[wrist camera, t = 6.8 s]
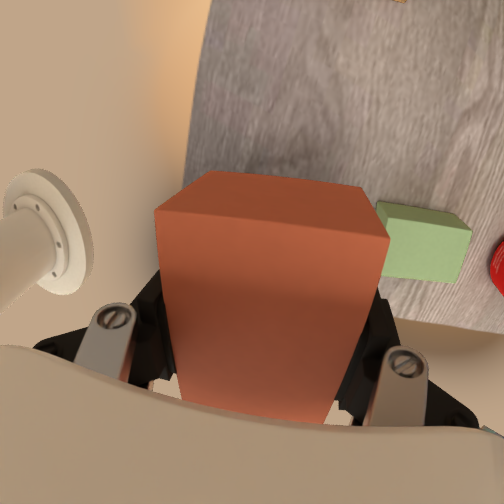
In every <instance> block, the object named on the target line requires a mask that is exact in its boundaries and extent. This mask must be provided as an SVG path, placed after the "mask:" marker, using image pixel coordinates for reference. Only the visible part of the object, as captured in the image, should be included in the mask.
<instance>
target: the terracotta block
mask: <svg viewBox="0 0 504 504" xmlns="http://www.w3.org/2000/svg"><path fill="white" fill-rule="evenodd" d="M154 215H155V227H156V237H157V238H156V239H157V248H158V258H159V267H160V275H161V283H162V291H163V298H164V303H165V306H166V313H167V320H168V326H169V332H170V338H171V344H172V349H173V355H174V360H175V365H176V371H177V378H178V383H179V388H180V393H181V397H182V400H185V401H189V402H193V403H197V404H201V405H205V406H210V407H214V408H219V409H223V410H228V411H233V412H238V413H244V414H249V415H255V416H261V417H267V418H274V419H281V420H289V421H297V422H306V423H316V424H323V423H324V421H325V419H326V416H327V415H328V412H329V410H330V408H331V406H332V404H333V402H334V398H335V396H336V394H337V392H338V389H339V387H340V385H341V382H342V380H343V378H344V375H345V373H346V370H347V368H348V366H349V363H350V361H351V358H352V356H353V353H354V350H355V348H356V345H357V343H358V340H359V337H360V335H361V333H362V331H363V328H364V326H365V323H366V320H367V317H368V314H369V311H370V308H371V305H372V302H373V299H374V296H375V293H376V290H377V287H378V283H379V280H380V277H381V273H382V270H383V266H384V263H385V259H386V256H387V252H388V248H389V244H390V240H391V239H390V236H389V235H388V233H387V231H386V229H385V227H384V226H383V224H382V222H381V220H380V218H379V217H378V215H377V213H376V211H375V210H374V208H373V206H372V205H371V203H370V201H369V200H368V198H367V196H366V195H365V193H364V191H363V190H362V188H361V187H355V186H349V185H342V184H336V183H328V182H321V181H314V180H306V179H298V178H289V177H280V176H270V175H260V174H249V173H237V172H224V171H209V172H207V173H206V174H204V175H203V176H201V177H200V178H199V179H197V180H196V181H194V182H193V183H191V184H190V185H188V186H187V187H185V188H184V189H183V190H181V191H180V192H178V193H177V194H176V195H174V196H173V197H171V198H170V199H169V200H167V201H166V202H165V203H163V204H162V205H160V206H159V207H158V208H156V209H155V210H154Z"/></svg>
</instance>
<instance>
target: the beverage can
mask: <svg viewBox="0 0 504 504" xmlns="http://www.w3.org/2000/svg"><path fill="white" fill-rule="evenodd" d="M490 274H491V279H492V281H493V283H494V284H495V286H496V287H497V288H498V290H499V291H500V292H501V294H502V295H503V296H504V241H503V242H502V243H501V244H500V245H499V246H498V248H497V249H496V251H495V253H494V255H493V258H492V261H491V266H490Z"/></svg>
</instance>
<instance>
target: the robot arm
mask: <svg viewBox="0 0 504 504" xmlns="http://www.w3.org/2000/svg"><path fill="white" fill-rule="evenodd" d="M68 262H69V251H68V244H67V239H66V236H65V233H64V230H63V228H62V226H61V223H60V221H59V220H58V218H57V216H56V214H55V213H54V212H53V210H52V209H51V208H50V206H49V205H48V204H47V203H46V202H45V201H43V200H42V199H41V198H39V197H38V196H35V195H32V194H25V195H22V196H20V197H18V198H17V199H16V200H15V201H14V202H13V204H12V205H11V208H10V212H9V216H7V217H5V218H3V219H2V220H0V314H2V313H3V312H4V311H5V310H6V309H7V308H8V307H9V306H10V305H11V304H12V303H14V302H15V301H16V300H17V299H18V298H19V297H20V296H21V295H22V294H23V293H25V292H26V291H27V290H28V289H29V288H30V287H31V286H33V285H34V284H35V283H36V282H37V281H39V280H40V279H43V280H46V281H55V280H57V279H58V278H60V277H61V276H62V275H63V274H64V273H65V271H66V270H67V266H68ZM428 371H429V369H428V363H427V361H426V359H425V357H424V356H423V355H422V354H421V353H420V352H418V351H417V350H415V349H413V348H411V347H407V346H401V344H400V340H399V337H398V333H397V330H396V326H395V322H394V319H393V315H392V312H391V309H390V305H389V302H388V300H387V299H381V297H380V294H379V290H378V287H377V290H376V293H375V296H374V299H373V302H372V305H371V308H370V311H369V314H368V317H367V320H366V323H365V326H364V328H363V331H362V333H361V335H360V337H359V340H358V343H357V345H356V348H355V350H354V353H353V356H352V358H351V361H350V363H349V366H348V368H347V370H346V373H345V375H344V378H343V380H342V382H341V385H340V387H339V389H338V392H337V394H336V396H335V398H334V400H338V401H339V410H346V411H347V412H348V413H350V414H351V415H352V417H351V420H350V423H349V426H343V425H328V424H316V423H306V422H297V421H289V420H281V419H274V418H267V417H261V416H255V415H249V414H244V413H238V412H233V411H228V410H223V409H219V408H214V407H210V406H205V405H201V404H197V403H193V402H189V401H185V400H181V399H178V398H174V397H170V396H167V395H163V394H160V393H156V392H153V384H154V382H153V381H154V380H155V379H158V378H160V379H164V380H168V381H170V379H171V376H172V375H173V373H176V374H177V371H176V365H175V360H174V355H173V349H172V344H171V338H170V332H169V326H168V320H167V313H166V306H165V303H164V298H163V291H162V283H161V275H160V269H159V270H158V271H157V272H156V274H155V275H154V276H153V277H152V278H151V280H150V281H149V282H148V283H147V284H146V286H145V287H144V288H143V289H142V290H141V292H140V293H139V294H138V295H137V296H136V298H135V299H134V300H133V301H132V303H131V304H130V305H128V304H126V303H111V304H107V305H105V306H103V307H101V308H100V309H99V310H97V311H96V312H95V314H94V316H93V317H92V320H91V322H90V324H89V326H88V327H86V328H82V329H79V330H75V331H72V332H68V333H65V334H61V335H58V336H54V337H51V338H47V339H44V340H42V341H40V342H39V343H37V344H36V345H35V346H34V347H33V348H28V347H23V346H16V345H1V346H0V504H504V437H503V436H502V435H500V434H498V433H496V432H495V431H493V430H491V429H490V428H488V427H486V426H483V427H482V428H480V427H479V423H478V420H477V418H476V416H475V415H474V413H473V412H472V411H470V409H468V408H467V407H466V406H464V405H463V404H461V403H460V402H459V401H457V400H456V399H454V398H453V397H452V396H450V395H449V394H448V393H446V392H445V391H443V390H442V389H441V388H439V387H438V386H437V385H435V384H434V383H433V382H431V381H430V380H428Z"/></svg>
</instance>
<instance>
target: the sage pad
mask: <svg viewBox="0 0 504 504" xmlns="http://www.w3.org/2000/svg"><path fill="white" fill-rule="evenodd" d="M376 213H377V215H378V217H379V218H380V220H381V222H382V224H383V226H384V227H385V229H386V231H387V233H388V235H389V236H390V239H391V240H390V244H389V248H388V252H387V256H386V259H385V263H384V266H383V270H382V273H381V276H386V277H396V278H406V279H416V280H426V281H436V282H447V283H456V281H457V278H458V276H459V273H460V270H461V267H462V264H463V262H464V259H465V256H466V253H467V249H468V246H469V243H470V240H471V236H472V233H473V231H472V230H471V229H470V228H469V227H468V226H467V225H466V224H465V223H464V222H462V221H461V220H460V219H459V218H458V217H457V216H456V215H455V214H451V213H446V212H440V211H435V210H429V209H424V208H418V207H412V206H406V205H399V204H393V203H386V202H380V201H378V202H377V207H376Z"/></svg>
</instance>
